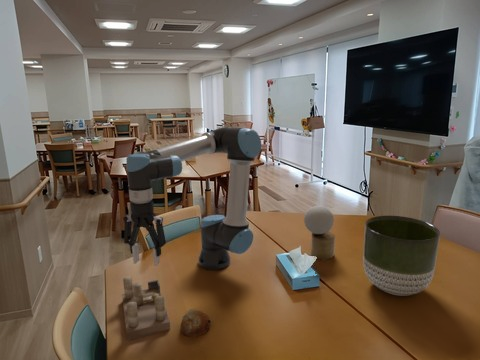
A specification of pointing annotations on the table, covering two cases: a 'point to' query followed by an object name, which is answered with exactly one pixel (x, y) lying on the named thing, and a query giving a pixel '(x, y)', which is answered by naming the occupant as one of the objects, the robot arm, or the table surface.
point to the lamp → (320, 231)
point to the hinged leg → (139, 295)
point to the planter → (400, 253)
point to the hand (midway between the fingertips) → (146, 262)
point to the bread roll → (195, 323)
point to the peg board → (144, 311)
